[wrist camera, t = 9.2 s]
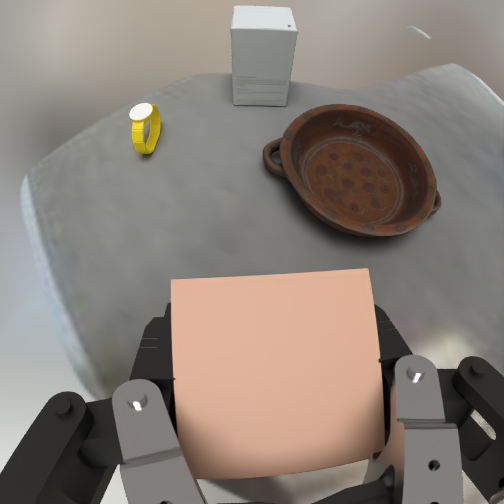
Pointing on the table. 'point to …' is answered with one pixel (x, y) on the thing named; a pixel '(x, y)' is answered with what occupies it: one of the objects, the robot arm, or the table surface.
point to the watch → (139, 117)
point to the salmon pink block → (276, 373)
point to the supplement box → (262, 54)
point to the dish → (356, 170)
